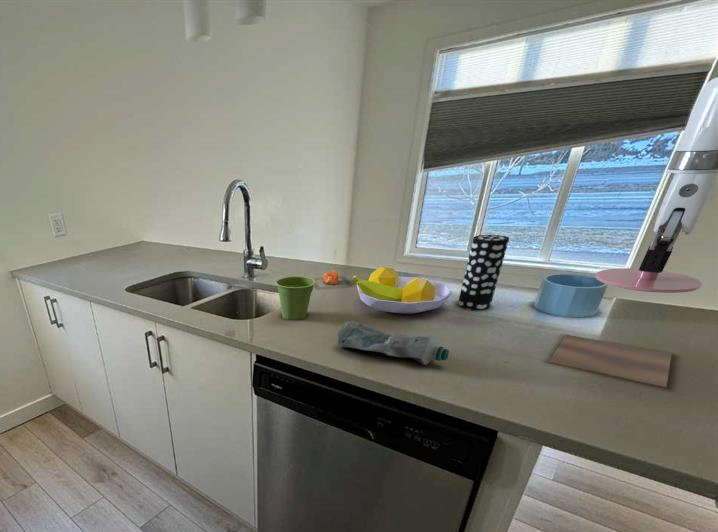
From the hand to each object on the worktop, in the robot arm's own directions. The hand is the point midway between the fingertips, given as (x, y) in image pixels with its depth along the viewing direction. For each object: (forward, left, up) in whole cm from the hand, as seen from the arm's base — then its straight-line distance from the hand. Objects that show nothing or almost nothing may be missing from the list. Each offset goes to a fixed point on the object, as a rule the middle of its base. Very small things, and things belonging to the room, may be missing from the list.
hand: (651, 268), depth 78 cm
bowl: (-12, -30, -20) cm, 38 cm away
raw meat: (+43, -70, -19) cm, 84 cm away
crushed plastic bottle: (+44, -9, -20) cm, 49 cm away
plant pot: (+62, -39, -20) cm, 76 cm away
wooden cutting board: (0, 0, -20) cm, 20 cm away
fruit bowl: (+30, -42, -20) cm, 55 cm away
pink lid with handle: (0, 0, -2) cm, 2 cm away
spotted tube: (+9, -37, -20) cm, 43 cm away
